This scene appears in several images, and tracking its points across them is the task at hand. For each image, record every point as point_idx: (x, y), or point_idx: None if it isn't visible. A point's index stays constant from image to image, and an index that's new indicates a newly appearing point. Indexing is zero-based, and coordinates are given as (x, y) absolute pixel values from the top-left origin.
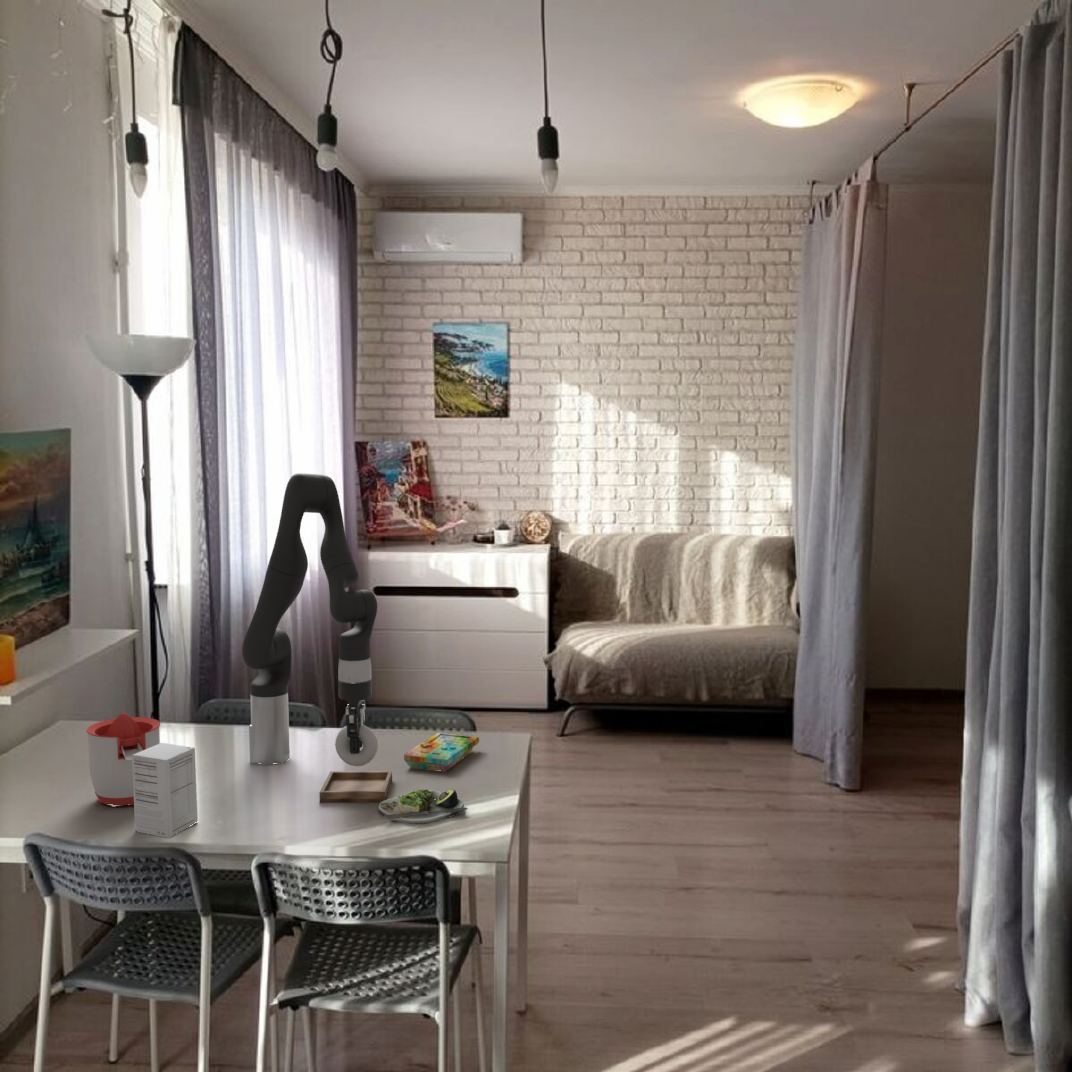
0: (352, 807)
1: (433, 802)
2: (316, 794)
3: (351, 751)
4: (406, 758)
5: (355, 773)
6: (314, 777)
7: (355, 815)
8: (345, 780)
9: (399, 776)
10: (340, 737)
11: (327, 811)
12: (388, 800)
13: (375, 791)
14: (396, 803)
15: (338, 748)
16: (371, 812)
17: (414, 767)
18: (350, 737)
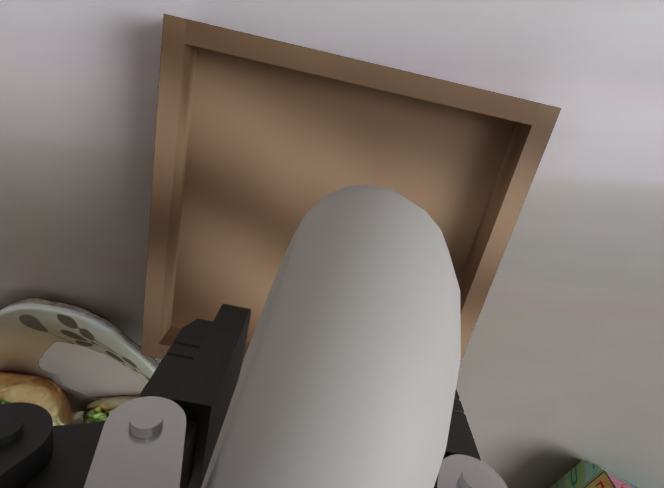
0: (112, 189)
1: None
2: (337, 7)
3: (191, 322)
4: (600, 486)
5: (481, 250)
6: (654, 6)
7: (5, 194)
8: (458, 186)
9: (488, 411)
10: (287, 291)
11: (56, 59)
12: (122, 347)
13: (150, 318)
14: (133, 366)
15: (307, 214)
16: (45, 263)
17: (570, 473)
18: (59, 427)
